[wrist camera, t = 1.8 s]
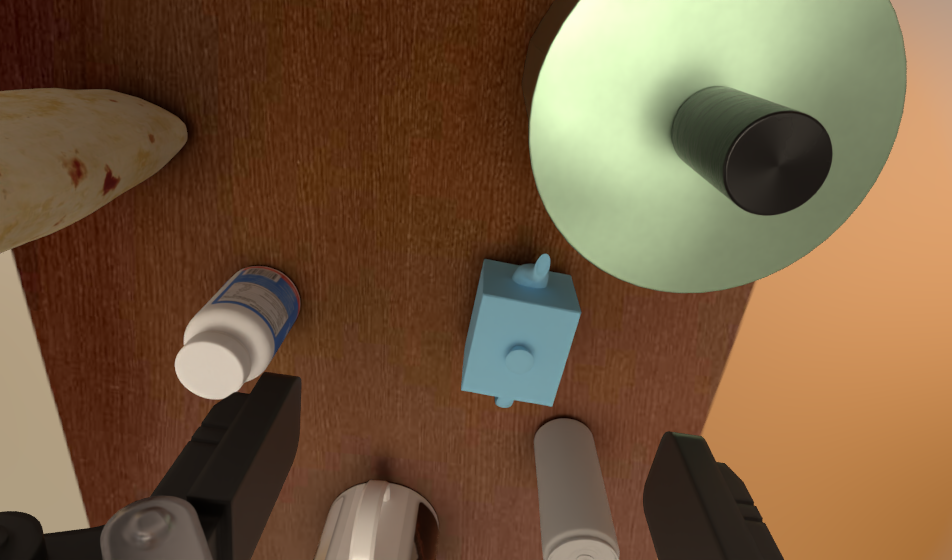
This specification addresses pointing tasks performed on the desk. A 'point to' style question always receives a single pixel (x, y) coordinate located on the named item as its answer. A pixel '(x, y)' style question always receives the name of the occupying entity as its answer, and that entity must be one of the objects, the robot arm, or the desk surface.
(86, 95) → the food model
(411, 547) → the mug
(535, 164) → the lid
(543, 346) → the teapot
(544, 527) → the beverage can
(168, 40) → the desk surface
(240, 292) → the pill bottle
